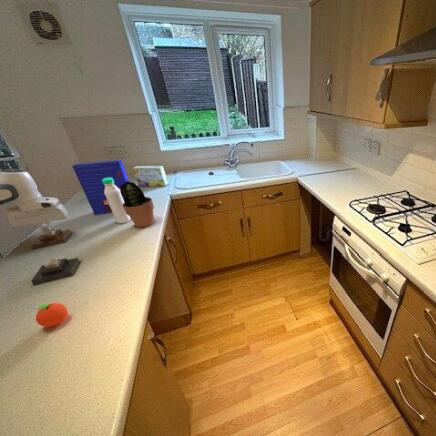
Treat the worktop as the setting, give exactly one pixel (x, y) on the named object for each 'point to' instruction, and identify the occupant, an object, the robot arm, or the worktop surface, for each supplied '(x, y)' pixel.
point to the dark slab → (56, 271)
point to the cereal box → (99, 181)
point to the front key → (53, 263)
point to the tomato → (51, 314)
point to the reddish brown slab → (52, 239)
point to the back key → (49, 232)
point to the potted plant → (137, 205)
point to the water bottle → (115, 200)
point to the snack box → (150, 175)
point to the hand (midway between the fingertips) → (46, 230)
